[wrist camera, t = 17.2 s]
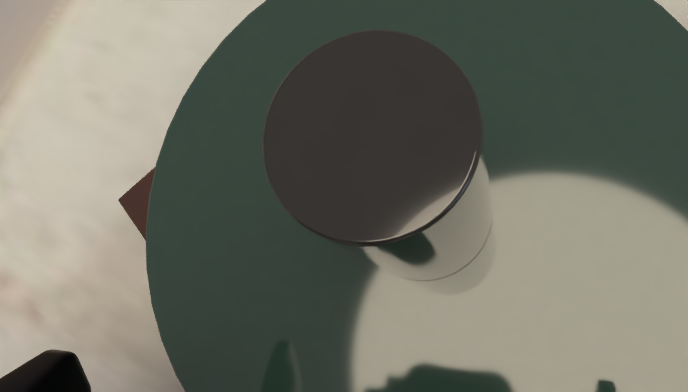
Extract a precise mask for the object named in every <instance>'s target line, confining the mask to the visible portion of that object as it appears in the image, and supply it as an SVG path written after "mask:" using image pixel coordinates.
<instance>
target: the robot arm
mask: <svg viewBox="0 0 688 392" xmlns="http://www.w3.org/2000/svg"><path fill="white" fill-rule="evenodd" d="M0 392H91V387H90V384H89V382H88V379H87V377H86V375H85V373H84V370H83V368H82V366H81V364H80V361H79V359H78V357H77V356H76V355H75V354H74V353H72V352H68V351H61V350H47V351H45V352H43V353H41V354H40V355H38V356H36V357H35V358H33V359H31V360H30V361H28V362H27V363H25V364H23V365H22V366H20V367H18V368H17V369H15V370H14V371H12V372H10V373H9V374H7V375H5V376H4V377H2V378H1V379H0Z"/></svg>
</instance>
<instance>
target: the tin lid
mask: <svg viewBox="0 0 688 392" xmlns="http://www.w3.org/2000/svg"><path fill="white" fill-rule="evenodd" d="M146 262H147V274H148V281H149V288H150V295H151V302H152V307H153V310H154V314H155V318H156V321H157V325H158V329H159V332H160V336H161V340H162V342H163V345H164V347H165V350H166V352H167V355H168V357H169V359H170V362H171V364H172V367H173V369H174V372H175V374H176V376H177V378H178V380H179V381H180V383H181V385H182V387H183V388H184V390H185V392H688V31H687V30H686V29H685V28H684V27H683V26H682V25H681V24H680V23H679V22H678V21H677V20H676V19H675V18H674V17H673V16H672V15H670V14H669V13H668V12H667V11H666V10H665V9H664V8H663V7H662V6H661V5H659V4H658V3H657V2H655V1H654V0H266V1H265V2H264V3H262V4H261V5H260V6H259V7H257V8H256V9H255V10H254V11H252V12H251V13H250V14H249V15H248V16H247V17H246V18H245V19H244V20H243V21H242V22H241V23H240V24H239V25H238V26H237V27H236V28H235V29H234V30H233V31H232V32H231V33H230V34H229V35H228V36H227V37H226V38H225V39H224V40H223V41H222V42H221V43H220V45H219V46H218V47H217V49H216V50H215V51H214V52H213V54H212V55H211V56H210V57H209V59H208V60H207V61H206V62H205V64H204V65H203V66H202V68H201V69H200V71H199V72H198V74H197V76H196V77H195V79H194V80H193V82H192V84H191V85H190V87H189V88H188V90H187V92H186V93H185V95H184V96H183V98H182V100H181V103H180V105H179V107H178V109H177V111H176V113H175V115H174V117H173V119H172V121H171V124H170V126H169V128H168V130H167V133H166V136H165V139H164V142H163V145H162V148H161V151H160V154H159V157H158V160H157V163H156V168H155V172H154V177H153V181H152V186H151V191H150V195H149V204H148V215H147V225H146Z"/></svg>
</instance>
